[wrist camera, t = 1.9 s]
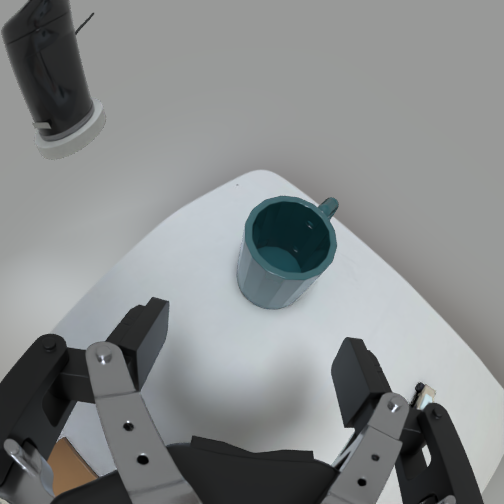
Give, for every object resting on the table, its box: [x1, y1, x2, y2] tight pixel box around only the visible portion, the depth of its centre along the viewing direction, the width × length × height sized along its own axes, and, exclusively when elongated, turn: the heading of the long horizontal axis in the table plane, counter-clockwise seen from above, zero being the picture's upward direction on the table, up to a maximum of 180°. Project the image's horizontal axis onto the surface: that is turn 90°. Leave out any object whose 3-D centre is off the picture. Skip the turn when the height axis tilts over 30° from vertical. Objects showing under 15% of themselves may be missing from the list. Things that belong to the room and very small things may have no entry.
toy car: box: [409, 382, 436, 410], centre depth 20 cm, size 3×4×2 cm, turn 144°
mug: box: [237, 196, 338, 309], centre depth 23 cm, size 10×6×8 cm
